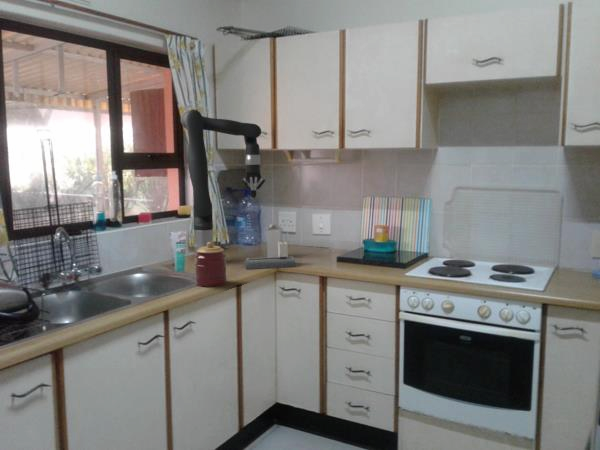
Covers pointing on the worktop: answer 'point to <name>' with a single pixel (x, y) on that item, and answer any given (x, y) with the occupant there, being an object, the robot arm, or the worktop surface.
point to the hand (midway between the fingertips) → (253, 197)
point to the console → (269, 262)
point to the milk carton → (273, 239)
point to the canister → (210, 266)
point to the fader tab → (282, 250)
